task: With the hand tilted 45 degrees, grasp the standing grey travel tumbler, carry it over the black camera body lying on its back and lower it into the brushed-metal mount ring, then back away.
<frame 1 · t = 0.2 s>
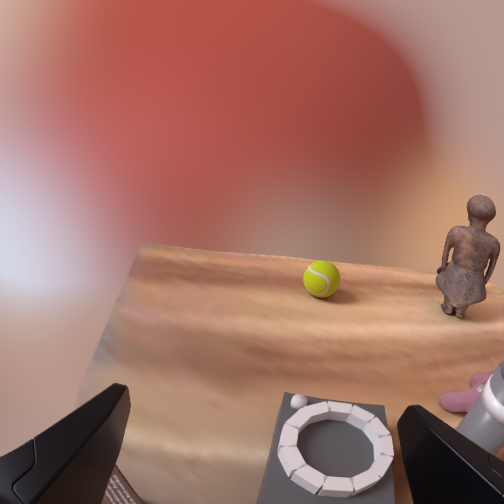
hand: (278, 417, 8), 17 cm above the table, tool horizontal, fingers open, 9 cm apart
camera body: (322, 469, 20), on the table
grey travel tumbler: (441, 476, 17), on the table
video game controller: (466, 404, 26), on the table
clay figurine: (451, 313, 51), on the table
tennis ball: (317, 296, 53), on the table
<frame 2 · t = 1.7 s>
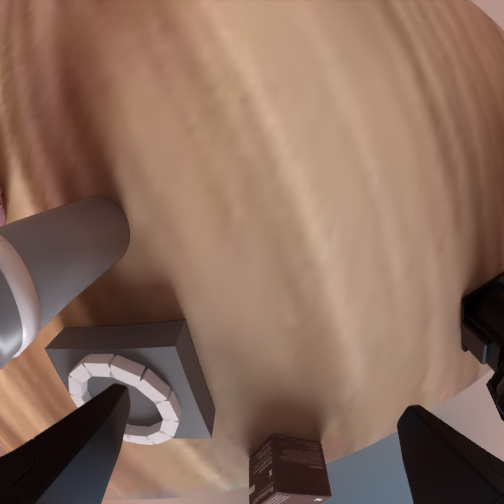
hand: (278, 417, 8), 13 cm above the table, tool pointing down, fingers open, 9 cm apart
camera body: (137, 373, 23), on the table
grey travel tumbler: (98, 231, 19), on the table
box: (284, 450, 27), on the table
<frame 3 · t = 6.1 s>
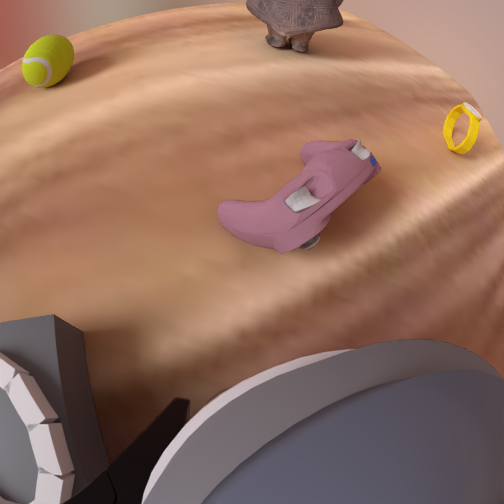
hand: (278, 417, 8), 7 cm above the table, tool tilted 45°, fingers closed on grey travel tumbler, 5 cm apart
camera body: (31, 437, 10), on the table
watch: (448, 144, 28), on the table
grey travel tumbler: (247, 432, 13), on the table, touching gripper
video game controller: (294, 211, 20), on the table
clay figurine: (286, 46, 33), on the table
tennis ball: (54, 83, 25), on the table
when the fingers open (11 cm above the table, at t = 9.1 s): grey travel tumbler stays where it is, resting on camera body.
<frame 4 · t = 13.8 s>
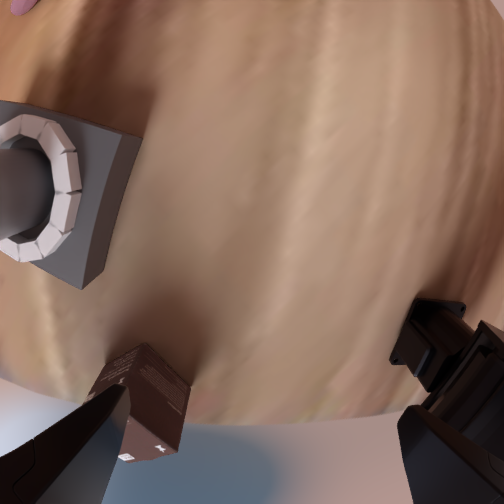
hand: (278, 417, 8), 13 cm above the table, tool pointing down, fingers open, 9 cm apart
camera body: (55, 181, 18), on the table
grey travel tumbler: (27, 187, 14), point 4 cm above the table, touching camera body
box: (147, 376, 23), on the table
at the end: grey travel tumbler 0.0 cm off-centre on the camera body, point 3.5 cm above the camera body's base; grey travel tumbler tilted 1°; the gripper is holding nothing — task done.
